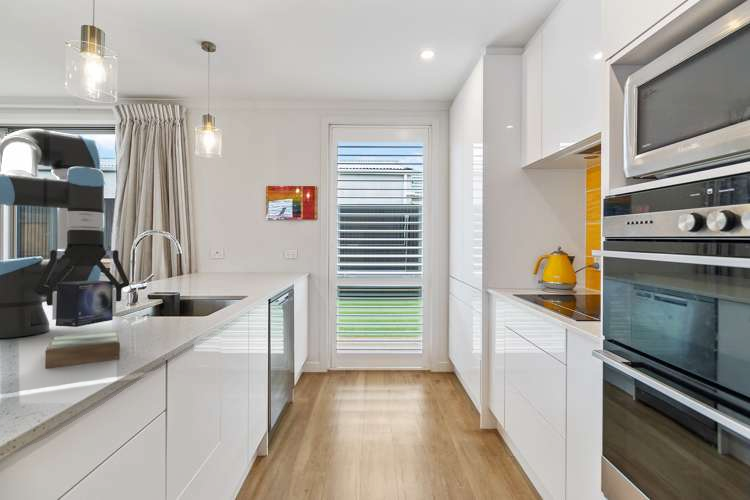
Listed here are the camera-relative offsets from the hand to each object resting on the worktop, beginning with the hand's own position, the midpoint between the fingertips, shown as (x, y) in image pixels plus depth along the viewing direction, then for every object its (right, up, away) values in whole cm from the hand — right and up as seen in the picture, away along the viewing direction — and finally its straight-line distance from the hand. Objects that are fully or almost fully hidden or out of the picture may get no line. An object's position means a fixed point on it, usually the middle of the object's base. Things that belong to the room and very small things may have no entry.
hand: (85, 316), depth 99 cm
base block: (0, -10, 0) cm, 10 cm away
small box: (0, -2, 0) cm, 2 cm away
